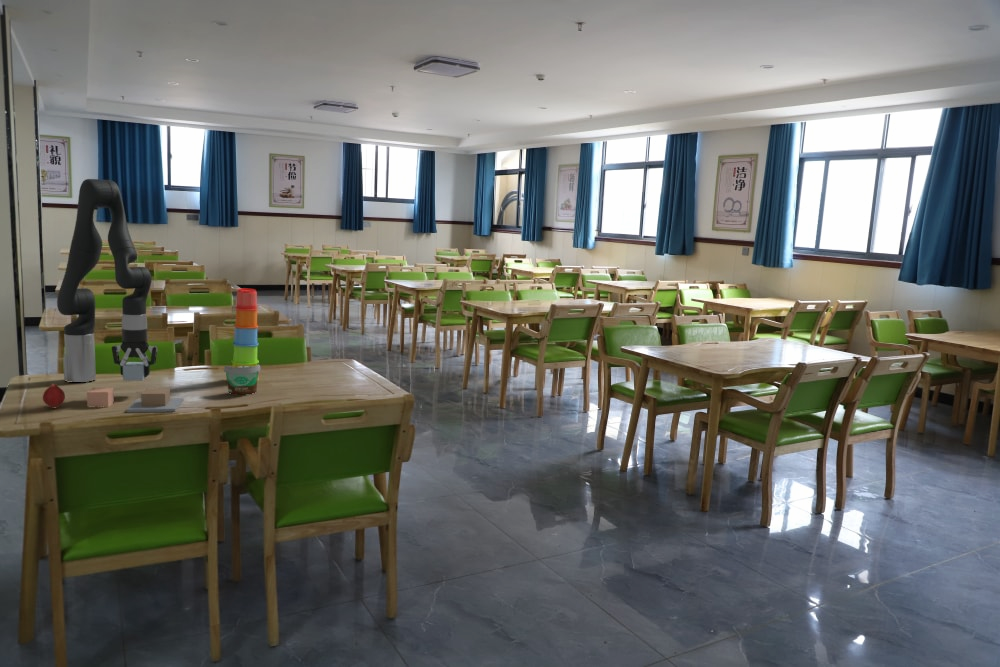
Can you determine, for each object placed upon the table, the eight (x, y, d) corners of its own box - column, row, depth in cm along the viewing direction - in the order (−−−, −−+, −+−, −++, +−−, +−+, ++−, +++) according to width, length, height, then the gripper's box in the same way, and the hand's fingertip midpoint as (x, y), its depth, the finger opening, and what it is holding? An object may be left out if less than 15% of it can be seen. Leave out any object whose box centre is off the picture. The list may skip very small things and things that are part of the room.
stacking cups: (258, 376, 284) (258, 287, 278) (259, 382, 274) (258, 290, 269) (230, 377, 280) (229, 287, 275) (229, 383, 271) (228, 290, 266)
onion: (49, 405, 230) (48, 381, 229) (68, 406, 231) (67, 381, 230) (39, 410, 225) (38, 385, 224) (59, 411, 225) (58, 385, 224)
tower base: (126, 412, 227) (126, 396, 226) (137, 401, 241) (137, 386, 240) (175, 411, 230) (174, 396, 230) (183, 400, 244) (183, 386, 243)
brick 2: (123, 380, 243) (122, 365, 242) (128, 376, 248) (127, 361, 248) (142, 380, 244) (142, 366, 243) (147, 376, 250) (147, 362, 249)
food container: (226, 397, 251) (225, 368, 249) (223, 393, 256) (223, 365, 255) (263, 394, 257) (263, 366, 255) (260, 390, 262) (260, 363, 261)
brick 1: (87, 407, 231) (86, 392, 230) (93, 403, 237) (92, 387, 236) (108, 407, 232) (107, 392, 232) (113, 402, 238) (113, 387, 237)
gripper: (107, 328, 238) (108, 378, 241) (155, 329, 241) (156, 379, 244) (114, 324, 245) (115, 373, 248) (160, 325, 249) (160, 374, 251)
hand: (135, 376), depth 246 cm, fingers closed on brick 2, 6 cm apart
